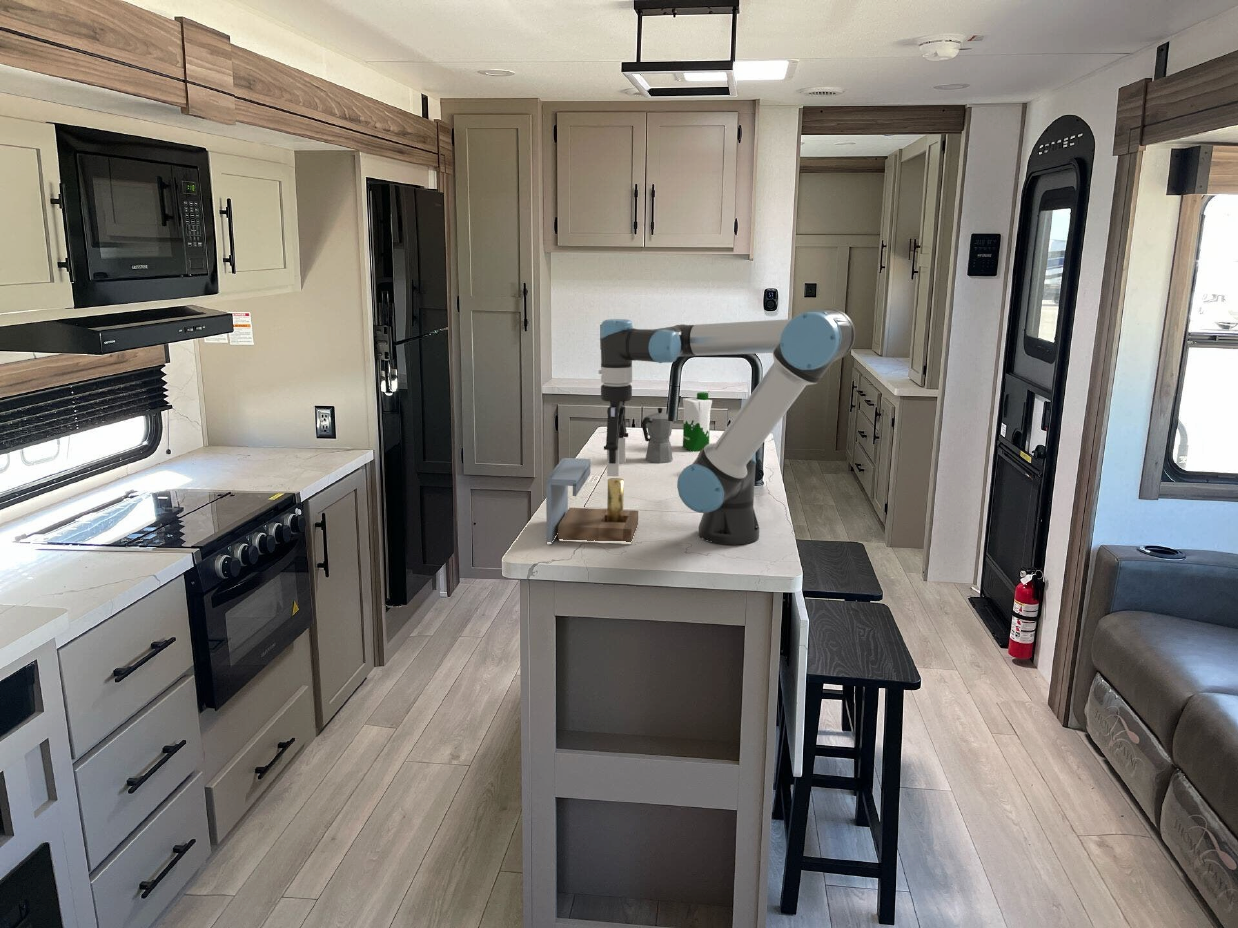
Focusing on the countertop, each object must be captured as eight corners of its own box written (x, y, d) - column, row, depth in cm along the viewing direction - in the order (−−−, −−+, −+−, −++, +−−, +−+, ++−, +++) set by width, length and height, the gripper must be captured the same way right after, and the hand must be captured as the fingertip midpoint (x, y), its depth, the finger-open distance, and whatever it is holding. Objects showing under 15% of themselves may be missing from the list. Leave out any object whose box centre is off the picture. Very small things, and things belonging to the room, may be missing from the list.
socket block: (638, 525, 237) (638, 510, 236) (631, 544, 221) (631, 529, 220) (569, 522, 239) (569, 507, 238) (558, 541, 223) (557, 525, 222)
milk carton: (712, 450, 324) (714, 394, 319) (690, 452, 320) (692, 396, 316) (700, 445, 332) (702, 391, 327) (678, 447, 328) (680, 392, 323)
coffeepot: (661, 454, 316) (662, 403, 312) (682, 459, 310) (683, 407, 306) (631, 462, 305) (631, 409, 301) (652, 466, 299) (653, 412, 295)
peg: (610, 536, 227) (611, 482, 224) (604, 532, 231) (605, 478, 227) (625, 535, 229) (626, 481, 225) (618, 530, 232) (619, 477, 229)
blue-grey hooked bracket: (590, 519, 241) (590, 458, 237) (576, 546, 220) (575, 479, 216) (563, 518, 242) (563, 457, 238) (546, 544, 221) (546, 478, 217)
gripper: (608, 376, 233) (608, 457, 238) (593, 391, 209) (593, 481, 214) (637, 377, 232) (637, 458, 237) (625, 392, 208) (625, 482, 213)
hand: (616, 469), depth 225 cm, fingers open, 13 cm apart
